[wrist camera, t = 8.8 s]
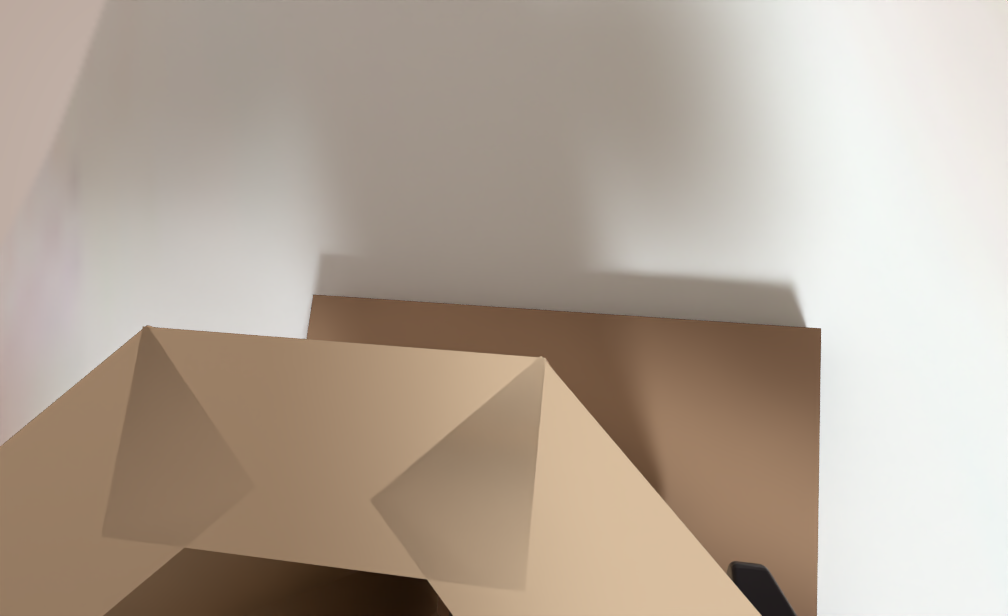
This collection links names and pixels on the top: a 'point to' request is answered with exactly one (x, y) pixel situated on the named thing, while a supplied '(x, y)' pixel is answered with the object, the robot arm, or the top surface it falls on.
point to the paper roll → (334, 491)
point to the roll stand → (661, 410)
